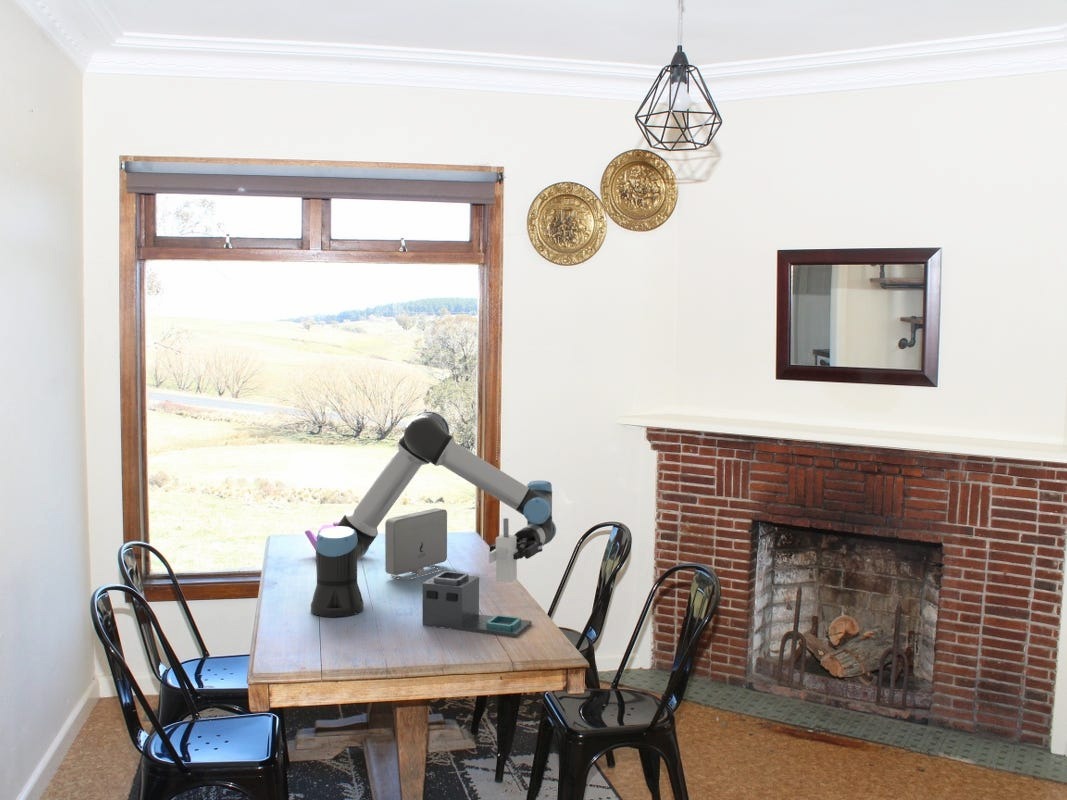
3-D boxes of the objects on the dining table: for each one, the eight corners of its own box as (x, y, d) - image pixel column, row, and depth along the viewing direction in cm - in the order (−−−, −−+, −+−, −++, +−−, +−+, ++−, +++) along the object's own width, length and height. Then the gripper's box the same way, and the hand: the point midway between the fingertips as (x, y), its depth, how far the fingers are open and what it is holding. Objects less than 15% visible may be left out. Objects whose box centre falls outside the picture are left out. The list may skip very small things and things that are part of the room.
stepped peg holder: (515, 638, 267) (516, 589, 266) (421, 625, 276) (421, 579, 275) (531, 624, 279) (532, 578, 278) (440, 613, 288) (440, 568, 287)
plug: (509, 583, 270) (509, 521, 269) (494, 581, 272) (494, 520, 270) (516, 578, 275) (516, 517, 274) (502, 576, 277) (501, 516, 275)
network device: (398, 583, 319) (398, 521, 318) (379, 578, 325) (379, 518, 323) (451, 567, 340) (452, 509, 338) (433, 563, 345) (433, 506, 343)
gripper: (557, 554, 287) (529, 575, 266) (501, 550, 293) (469, 569, 271) (556, 529, 287) (529, 547, 265) (500, 525, 293) (469, 542, 271)
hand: (499, 558), depth 268 cm, fingers closed on plug, 4 cm apart
